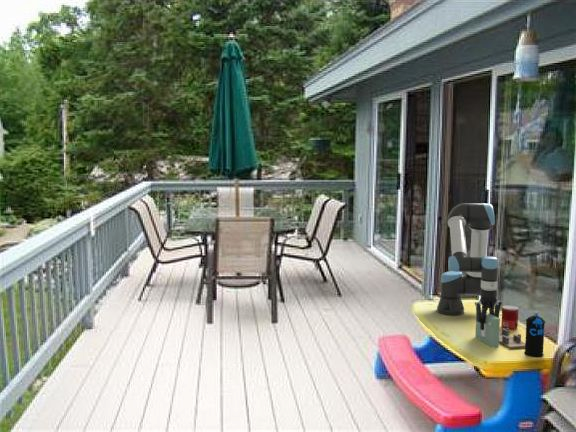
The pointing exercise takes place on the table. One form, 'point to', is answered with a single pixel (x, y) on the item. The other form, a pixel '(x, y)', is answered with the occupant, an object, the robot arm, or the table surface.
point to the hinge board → (510, 340)
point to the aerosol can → (534, 336)
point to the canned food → (509, 317)
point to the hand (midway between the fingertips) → (486, 335)
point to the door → (489, 330)
